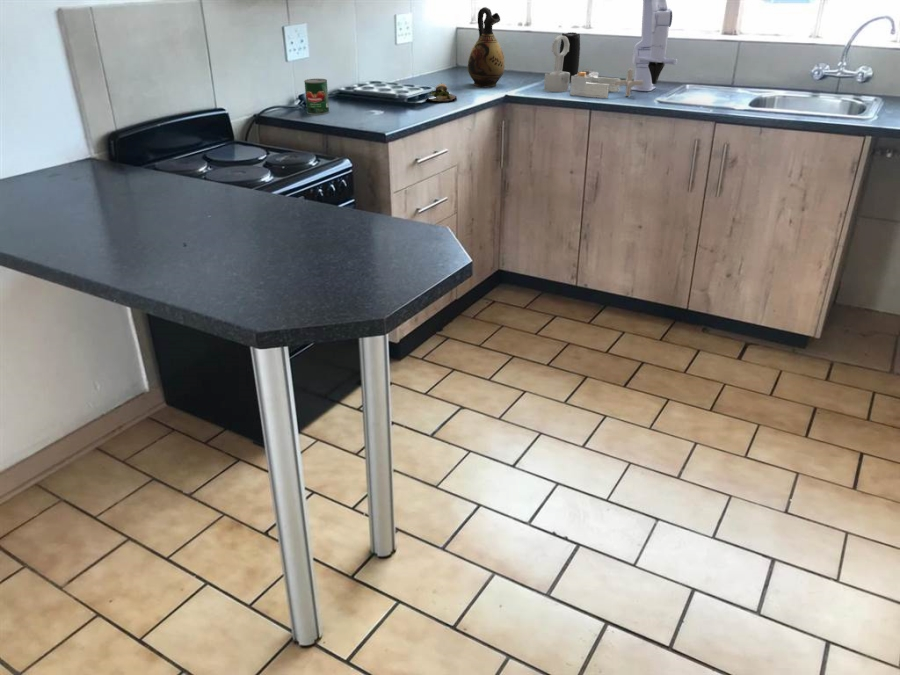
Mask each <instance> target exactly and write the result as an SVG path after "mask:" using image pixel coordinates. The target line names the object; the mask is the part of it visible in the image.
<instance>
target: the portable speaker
mask: <svg viewBox="0 0 900 675" xmlns="http://www.w3.org/2000/svg"><path fill="white" fill-rule="evenodd" d="M561 36H566V37H567V38H568V40H569V43H570V45H569V52H567V54H566V55H565V56H564V59H563V68H562V71H563V72H569V73H570V81H571V76H573V75H576V74H578V72H579V66H580V54H581V34H580V33H577V32H567V33H563V32H562V33H561ZM559 46H560V47H559V54H560V53H561V52H562V51H563V49H564V41H563V39H561V40H560V45H559Z"/></svg>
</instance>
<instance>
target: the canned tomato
mask: <svg viewBox="0 0 900 675" xmlns="http://www.w3.org/2000/svg"><path fill="white" fill-rule="evenodd" d="M303 82H304V91H305V102H306V113H307V115H315V116H317V115H318V116H319V115H326V114H329V113H330V104H329V91H328V80H327V79H325V78H309V79H305V80H304V81H303Z"/></svg>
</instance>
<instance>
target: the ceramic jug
mask: <svg viewBox="0 0 900 675" xmlns="http://www.w3.org/2000/svg"><path fill="white" fill-rule="evenodd" d="M484 14H485V18H484ZM500 22H501V16H500V15H499V13H497V12H495V13H493V14H492V11H491V9H490V8H489V7H487V6H484V7H482V8H480V9H479V10H478V12H477V28H478V30H477V31H478V36H479V37H478V39H477V41H476V42H475V44H474V45H473V47H472V49H471V51H470V54H469V57H468V61H467V70H468V71H467V72H468V73H469V76H470V78H471V79H472V81H473V85H474V86H476V87H478V88H493V87H496V85H497V83H498V82H499V81H500V79H501V78H502V76H503V75H504V72H505V67H506V66H505V56H504V54H503V50H502V47H501V46H500V43H499V41H498V39H497V38H496V36H495V34H494V33H493V32H494V31H493V25H495V24H498V23H500Z"/></svg>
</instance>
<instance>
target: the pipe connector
mask: <svg viewBox="0 0 900 675" xmlns="http://www.w3.org/2000/svg"><path fill="white" fill-rule="evenodd" d="M633 73H634V68H628V70H627V77H626V78H625V80H623V79H620V80H616V85H620V86H626V89H625V97H626V96H630V97H631V93H632V90H631V88H633V87H634V85H643V81H638V80H634V79H633Z"/></svg>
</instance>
